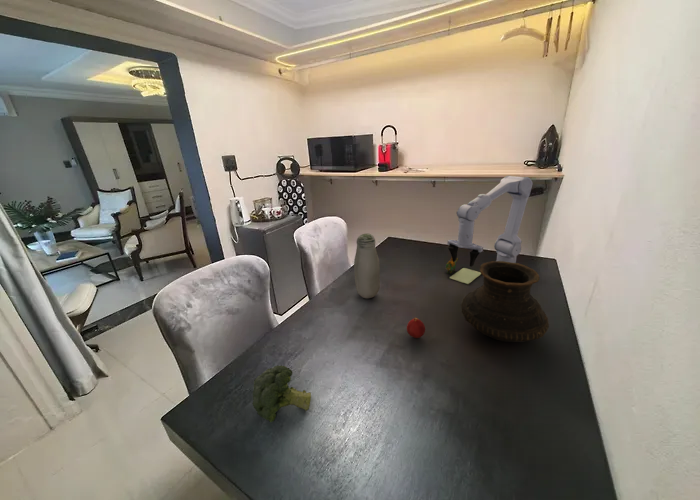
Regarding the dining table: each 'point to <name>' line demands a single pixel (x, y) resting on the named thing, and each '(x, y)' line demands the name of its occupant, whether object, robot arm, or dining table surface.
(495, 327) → the ceramic pot
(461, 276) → the felt mat
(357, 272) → the glass bottle
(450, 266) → the figurine
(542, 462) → the dining table surface
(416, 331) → the onion
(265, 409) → the vegetable
